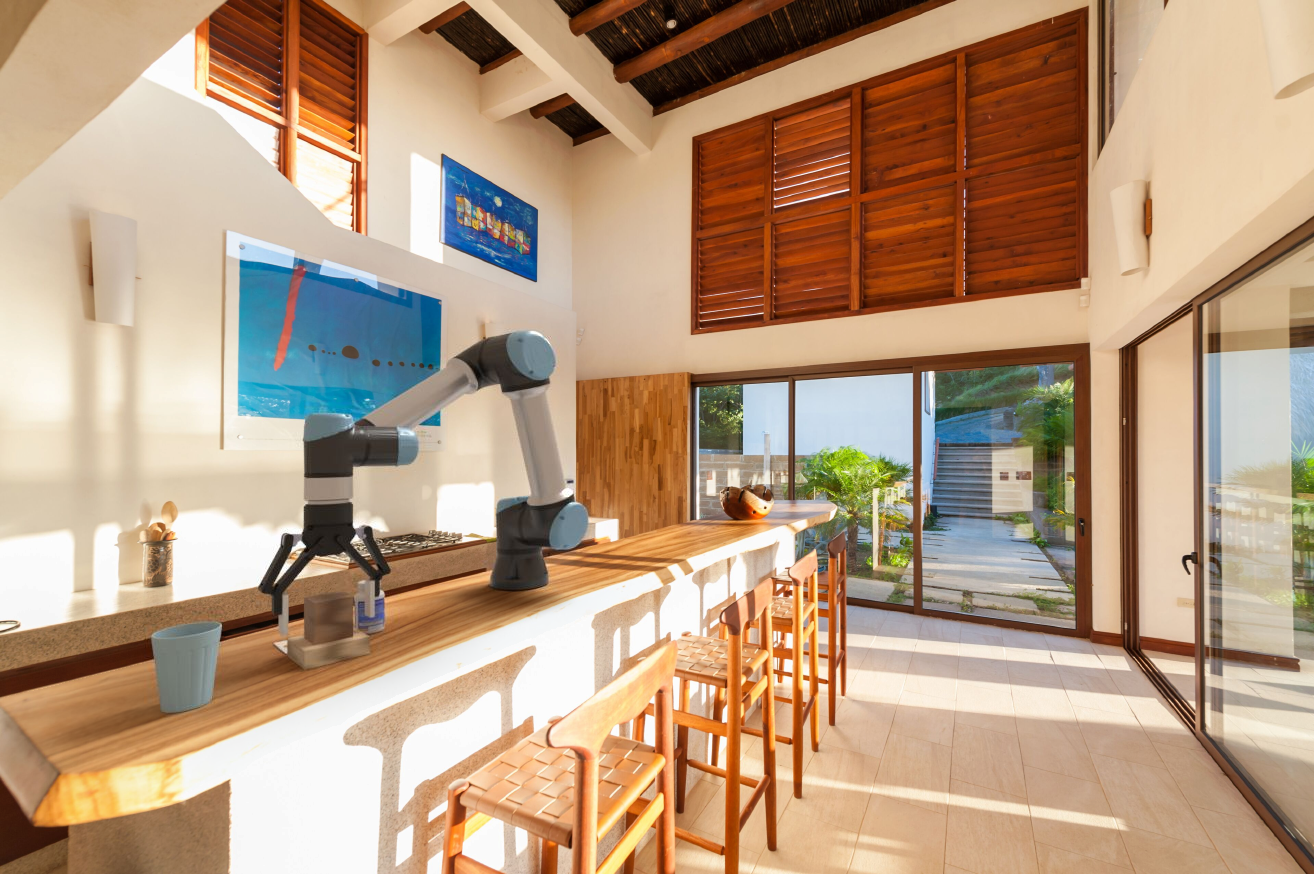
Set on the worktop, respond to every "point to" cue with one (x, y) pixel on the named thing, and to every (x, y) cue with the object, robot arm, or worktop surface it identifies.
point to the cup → (186, 664)
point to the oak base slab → (327, 650)
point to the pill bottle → (365, 622)
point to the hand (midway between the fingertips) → (328, 624)
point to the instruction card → (282, 646)
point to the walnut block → (328, 617)
